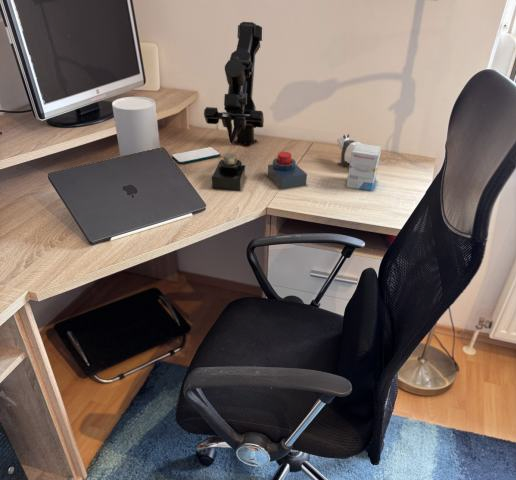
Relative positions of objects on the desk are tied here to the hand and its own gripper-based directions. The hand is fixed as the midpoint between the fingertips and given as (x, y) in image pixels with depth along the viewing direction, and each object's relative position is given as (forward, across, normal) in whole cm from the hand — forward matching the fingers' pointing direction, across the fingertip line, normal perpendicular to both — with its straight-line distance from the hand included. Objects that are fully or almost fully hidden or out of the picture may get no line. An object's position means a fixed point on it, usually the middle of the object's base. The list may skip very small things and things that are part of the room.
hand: (231, 143), depth 159 cm
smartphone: (-2, -15, +18) cm, 24 cm away
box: (+8, +18, +8) cm, 22 cm away
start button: (+2, +17, +6) cm, 18 cm away
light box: (+11, 0, +5) cm, 12 cm away
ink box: (+6, +43, +10) cm, 45 cm away
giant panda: (-4, +39, +20) cm, 44 cm away
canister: (+5, -32, +11) cm, 34 cm away
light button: (+6, 0, +3) cm, 6 cm away
